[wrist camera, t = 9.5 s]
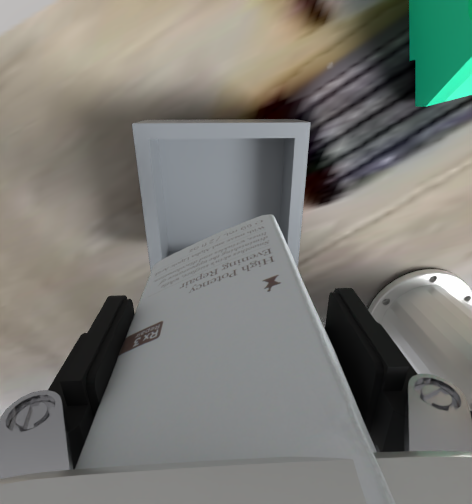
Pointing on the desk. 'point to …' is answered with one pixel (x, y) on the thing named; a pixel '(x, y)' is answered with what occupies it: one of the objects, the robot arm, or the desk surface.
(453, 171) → the desk surface
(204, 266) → the skincare box
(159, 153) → the grey square tray
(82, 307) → the desk surface
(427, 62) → the camera mount
